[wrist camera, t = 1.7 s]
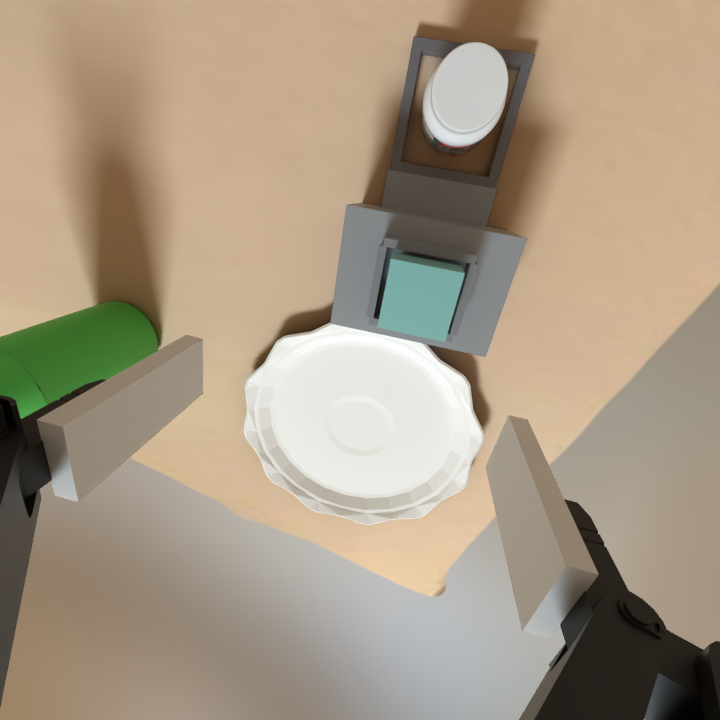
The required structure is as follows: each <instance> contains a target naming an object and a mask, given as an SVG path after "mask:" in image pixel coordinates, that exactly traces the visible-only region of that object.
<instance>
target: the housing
mask: <svg viewBox="0 0 720 720" xmlns="http://www.w3.org/2000/svg"><path fill="white" fill-rule="evenodd" d="M461 45H463V43H456V42H449V41H443V40H436V39H429V38H423V37H416V36H414V38H413V43H412V49H411V55H410V60H409V66H408V71H407V77H406V83H405V88H404V94H403V99H402V105H401V111H400V116H399V122H398V127H397V133H396V139H395V144H394V150H393V156H392V161H391V167H390V170H388V171H387V177H386V183H385V188H384V194H383V200H382V205H381V206H376V205H371V204H365V203H357V204H349V205H346V213H345V220H344V227H343V235H342V242H341V249H340V257H339V264H338V271H337V278H336V286H335V293H334V300H333V308H332V315H331V322H330V324H334V325H339V326H344V327H348V328H353V329H358V330H362V331H367V332H372V333H376V334H381V335H386V336H390V337H395V338H400V339H404V340H409V341H414V342H418V343H423V344H427V345H432V346H437V347H441V348H446V349H451V350H455V351H460V352H465V353H469V354H474V355H479V356H483V357H486V354H487V351H488V348H489V346H490V343H491V340H492V337H493V334H494V331H495V329H496V326H497V323H498V320H499V317H500V314H501V311H502V309H503V306H504V303H505V300H506V297H507V294H508V291H509V289H510V286H511V283H512V280H513V277H514V274H515V271H516V269H517V266H518V263H519V260H520V257H521V254H522V251H523V249H524V246H525V243H526V240H527V239H526V238H524V237H522V236H519V235H517V234H515V233H512V232H510V231H507V230H504V229H499V228H493V227H488V226H487V222H488V219H489V216H490V212H491V209H492V206H493V202H494V199H495V196H496V192H497V189H495V188H496V184H497V181H498V178H499V174H500V171H501V167H502V164H503V161H504V157H505V154H506V151H507V147H508V144H509V140H510V137H511V134H512V130H513V127H514V124H515V120H516V117H517V114H518V110H519V107H520V103H521V100H522V97H523V93H524V90H525V87H526V83H527V80H528V76H529V73H530V70H531V66H532V63H533V60H534V56H535V54H529V53H523V52H516V51H509V50H503V49H496V48H495V49H496V50H497V51H498V52H499V53H500V54H501V56H502V57H503V59H504V61H505V64H506V67H507V68H512V69H518V72H517V75H516V79H515V82H514V86H513V89H512V93H511V96H510V100H509V103H508V107H507V110H506V114H505V117H504V121H503V124H502V128H501V131H500V135H499V138H498V142H497V145H496V149H495V152H494V156H493V160H492V163H491V167H490V170H489V174H488V177H485V176H479V175H473V174H468V173H462V172H456V171H451V170H445V169H439V168H434V167H428V166H422V165H417V164H411V163H406V162H401V160H402V155H403V149H404V144H405V139H406V133H407V128H408V123H409V118H410V112H411V107H412V102H413V96H414V91H415V86H416V80H417V75H418V70H419V65H420V59H421V55H427V56H434V57H440V58H445V57H446V56H447V55H448V54H449V53H450V52H451V51H452V50H454V49H455V48H457V47H459V46H461ZM394 252H395V253H400V254H405V255H410V256H415V257H420V258H426V259H431V260H436V261H441V262H446V263H451V264H456V265H461V267H462V268H463V270H464V272H465V275H464V279H463V282H462V286H461V289H460V292H459V296H458V299H457V303H456V306H455V310H454V313H453V316H452V320H451V323H450V327H449V330H448V334H447V337H446V341H445V342H442V341H438V340H433V339H428V338H424V337H419V336H414V335H410V334H405V333H400V332H396V331H391V330H386V329H382V328H377V326H378V321H379V316H380V311H381V306H382V301H383V296H384V291H385V286H386V281H387V276H388V271H389V266H390V261H391V258H392V256H393V254H394Z"/></svg>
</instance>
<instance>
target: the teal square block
mask: <svg viewBox="0 0 720 720" xmlns="http://www.w3.org/2000/svg"><path fill="white" fill-rule="evenodd" d="M464 275H465V272H464V270H463V268H462V267H461V265H456V264H451V263H446V262H441V261H436V260H431V259H426V258H420V257H415V256H410V255H405V254H400V253H395V252H394V254H393V256H392V258H391V261H390V266H389V271H388V276H387V281H386V286H385V291H384V296H383V301H382V306H381V311H380V316H379V321H378V326H377V328H382V329H386V330H391V331H396V332H400V333H405V334H410V335H414V336H419V337H424V338H428V339H433V340H438V341H442V342H445V341H446V337H447V334H448V330H449V327H450V323H451V320H452V316H453V313H454V310H455V306H456V303H457V299H458V296H459V292H460V289H461V286H462V282H463V279H464Z"/></svg>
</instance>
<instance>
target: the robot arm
mask: <svg viewBox="0 0 720 720" xmlns="http://www.w3.org/2000/svg"><path fill="white" fill-rule="evenodd" d="M202 394H203V339H201V338H197V337H193V336H189V335H185V336H183V337H181V338H180V339H178V340H176V341H174V342H173V343H171V344H169V345H167V346H166V347H164V348H162V349H160V350H159V351H157V352H155V353H153V354H152V355H150V356H148V357H146V358H144V359H143V360H141V361H139V362H137V363H136V364H134V365H132V366H130V367H129V368H127V369H125V370H123V371H122V372H120V373H118V374H116V375H114V376H113V377H111V378H109V379H107V380H105V379H101V380H98V381H94V382H91V383H88V384H85V385H83V386H81V387H79V388H77V389H76V390H74V391H72V392H71V394H69V393H68V394H66V395H65V396H63V397H61V398H60V399H59V400H55V401H53V402H52V403H50V404H48V405H46V406H44V407H42V408H41V409H39V410H37V411H35V412H33V413H31V414H30V415H28V416H26V417H24V418H22V419H21V418H20V414H19V410H18V406H17V402H16V400H14V399H13V398H11V397H7V396H2V395H0V706H1V701H2V696H3V691H4V685H5V680H6V675H7V670H8V665H9V660H10V655H11V649H12V644H13V639H14V634H15V629H16V624H17V619H18V614H19V609H20V604H21V599H22V593H23V588H24V583H25V577H26V573H27V568H28V563H29V557H30V553H31V548H32V542H33V537H34V532H35V527H36V522H37V517H38V512H39V507H40V501H41V494H40V490H39V489H40V488H41V487H43V486H44V485H46V484H47V483H48V482H50V481H51V482H52V486H53V490H54V494H55V496H59V497H63V498H66V499H69V500H73V501H76V502H79V501H80V500H81V499H82V498H83V497H85V496H86V495H87V494H88V493H89V492H90V491H91V490H93V489H94V488H95V487H96V486H97V485H98V484H100V483H101V482H102V481H103V480H104V479H105V478H106V477H108V476H109V475H110V474H111V473H112V472H113V471H114V470H116V469H117V468H118V467H119V466H120V465H121V464H122V463H124V462H125V461H126V460H127V459H128V458H129V457H131V456H132V455H133V454H134V453H135V452H136V451H137V450H139V449H140V448H141V447H142V446H143V445H144V444H145V443H147V442H148V441H149V440H150V439H151V438H152V437H153V436H155V435H156V434H157V433H158V432H159V431H160V430H161V429H163V428H164V427H165V426H166V425H167V424H168V423H170V422H171V421H172V420H173V419H174V418H175V417H176V416H178V415H179V414H180V413H181V412H182V411H183V410H184V409H186V408H187V407H188V406H189V405H190V404H191V403H192V402H194V401H195V400H196V399H197V398H198V397H199V396H200V395H202ZM486 471H487V475H488V479H489V484H490V488H491V493H492V497H493V502H494V506H495V511H496V515H497V519H498V524H499V529H500V533H501V538H502V542H503V547H504V551H505V556H506V560H507V565H508V569H509V573H510V578H511V582H512V587H513V592H514V595H515V601H516V605H517V609H518V614H519V619H520V623H521V628H522V631H523V632H527V633H530V634H534V635H537V636H541V637H544V638H548V639H552V637H553V636H554V634H555V633H556V632H557V630H558V629H559V628H560V626H561V629H562V632H563V636H564V639H565V642H566V644H565V645H564V646H563V648H562V649H561V650H560V651H559V653H558V654H557V655H556V656H555V658H554V659H553V660H552V662H551V663H550V664H549V666H550V669H549V670H548V672H547V674H546V675H545V677H544V679H543V680H542V682H541V684H540V685H539V687H538V689H537V690H536V692H535V694H534V695H533V697H532V699H531V701H530V702H529V704H528V706H527V707H526V709H525V711H524V712H523V714H522V716H521V718H520V719H519V720H644V719H645V720H720V642H718V641H716V642H714V643H712V644H710V645H709V646H708V647H706V648H705V649H704V650H703V649H701V648H699V647H697V646H695V645H693V644H692V643H690V642H688V641H686V640H684V639H682V638H681V637H678V636H677V635H675V634H673V633H671V632H670V631H668V630H666V627H665V625H664V623H663V621H662V619H661V618H660V617H659V616H658V614H657V613H656V612H655V611H654V609H653V608H651V607H650V606H649V605H648V604H647V603H646V602H645V601H644V600H643V599H641V598H639V597H638V596H636V595H635V594H633V593H632V592H630V591H628V589H627V587H626V585H625V583H624V581H623V579H622V577H621V575H620V573H619V571H618V569H617V567H616V566H615V564H614V562H613V560H612V558H611V556H610V554H609V552H608V550H607V548H606V547H604V542H603V540H602V538H601V537H600V535H599V534H598V531H597V529H596V527H595V525H594V523H593V521H592V519H591V517H590V516H589V515H588V514H587V513H586V512H585V510H584V509H583V508H582V507H581V506H580V505H579V504H578V503H576V502H573V501H568V500H565V499H564V498H563V496H562V493H561V491H560V489H559V487H558V485H557V483H556V480H555V478H554V476H553V474H552V472H551V470H550V467H549V465H548V463H547V461H546V459H545V456H544V454H543V452H542V450H541V448H540V446H539V443H538V441H537V439H536V437H535V435H534V433H533V430H532V428H531V426H530V424H529V422H528V420H526V419H522V418H518V417H514V416H510V415H508V418H507V420H506V422H505V425H504V427H503V429H502V431H501V434H500V436H499V438H498V440H497V443H496V445H495V447H494V449H493V452H492V454H491V456H490V459H489V461H488V463H487V465H486Z"/></svg>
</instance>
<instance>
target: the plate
mask: <svg viewBox="0 0 720 720" xmlns="http://www.w3.org/2000/svg"><path fill="white" fill-rule="evenodd" d="M245 395H246V404H247V413H246V418H245V423H244V428H243V430H244V434H245V438H246V439H247V440H248V442H249V443H250V444H251V446H252V447H253V449H254V450H255V451H256V453H257V454H258V455H259V457H260V460H261V462H262V465H263V467H264V470H265V472H266V475H267V476H268V477H269V478H270V480H271V481H272V482H274V483H275V484H277V485H279V486H280V487H282V488H284V489H285V490H287V491H289V492H291V493H292V494H294V495H295V496H296V497H297V498H298V499H299V500H300V501H301V502H303V503H304V504H305V505H306V506H307V507H308V508H309V509H311V510H313V511H315V512H318V513H324V514H330V515H336V516H341V517H344V518H347V519H350V520H353V521H355V522H358V523H361V524H369V525H372V524H376V523H380V522H384V521H388V520H392V519H416V518H420V517H422V516H425V515H426V514H427V513H428V512H430V511H431V510H432V509H433V508H434V507H435V506H436V505H437V504H438V503H439V502H440V501H442V500H444V499H446V498H448V497H450V496H452V495H454V494H456V493H458V492H459V491H461V490H462V489H463V488H464V487H465V486H466V485H467V482H468V478H469V473H470V468H471V463H472V461H473V459H474V458H475V456H476V454H477V453H478V451H479V449H480V447H481V446H482V444H483V442H484V432H483V429H482V427H481V425H480V423H479V421H478V419H477V417H476V415H475V412H474V410H473V403H472V394H471V386H470V383H469V382H468V380H467V378H466V377H465V375H464V374H462V373H461V372H459V371H458V370H456V369H455V368H453V367H451V366H450V365H448V364H447V363H445V362H444V361H442V360H441V359H439V358H438V356H437V355H436V354H435V353H434V352H433V351H432V350H431V348H430V347H429V346H428V345H427V344H423V343H418V342H414V341H409V340H404V339H400V338H395V337H390V336H386V335H381V334H376V333H372V332H367V331H362V330H358V329H353V328H348V327H344V326H339V325H334V324H330V323H327V324H325V325H323V326H321V327H319V328H317V329H315V330H313V331H308V332H302V333H296V334H290V335H285V336H283V337H282V338H280V339H279V340H278V341H276V343H275V344H274V346H273V348H272V350H271V352H270V353H269V355H268V357H267V359H266V361H265V362H264V364H262V365H261V366H260V367H259V368H258V369H257V370H256V371H255V372H254V373H253V374H251V375H250V376H249V377H248V378H247V381H246V384H245Z"/></svg>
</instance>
